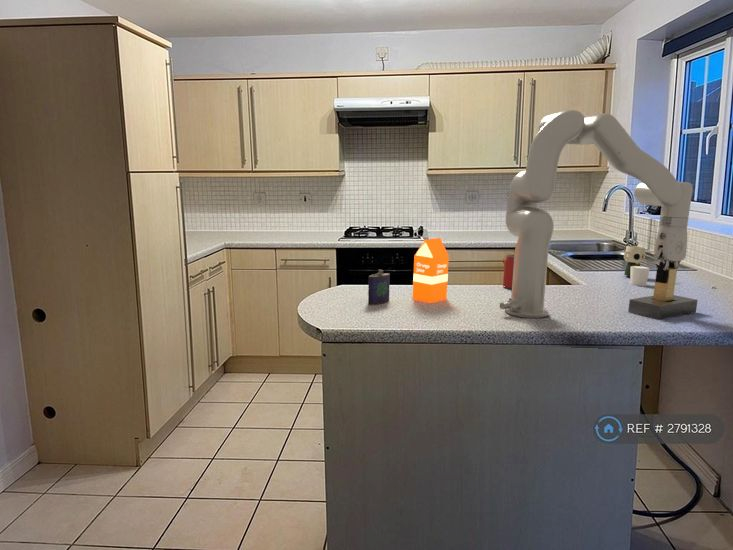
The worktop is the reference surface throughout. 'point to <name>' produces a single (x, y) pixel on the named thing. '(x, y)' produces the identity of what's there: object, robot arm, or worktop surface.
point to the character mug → (633, 257)
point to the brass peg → (666, 287)
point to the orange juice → (430, 271)
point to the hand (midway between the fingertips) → (665, 281)
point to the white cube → (639, 275)
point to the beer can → (508, 271)
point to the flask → (378, 288)
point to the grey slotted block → (662, 307)
